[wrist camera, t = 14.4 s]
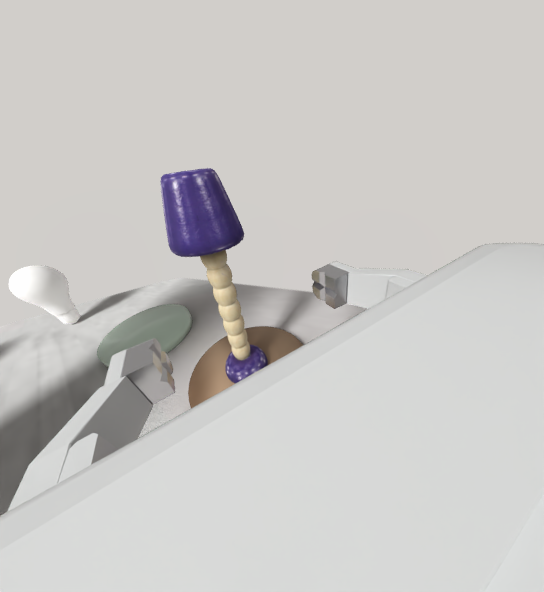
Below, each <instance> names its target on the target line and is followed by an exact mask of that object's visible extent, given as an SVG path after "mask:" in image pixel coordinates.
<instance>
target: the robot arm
mask: <svg viewBox="0 0 544 592" xmlns="http://www.w3.org/2000/svg"><path fill="white" fill-rule="evenodd" d="M312 279H313V280H314V284H313V292H314V294H315V296H316V297H317V298H318V299H320V300H324V301H326V304H327V305H329V306H331V307H332V308H334V309H336V308H338V307H340V306H342V305H344V304H346V303H347V304H350V305H354V306H358V307H363V308H367V310H365V311H364V312H362V313H360V314H358V315H356V316H355V317H353V318H351V319H349V320H348V321H346V322H344V323H342V324H340V325H339V326H337V327H335V328H333V329H332V330H330V331H328V332H326V333H324V334H323V335H321V336H319V337H317V338H316V339H314V340H312V341H310V342H308V343H307V344H305V345H303V346H301V347H300V348H298V349H296V350H294V351H293V352H291V353H289V354H287V355H285V356H284V357H282V358H280V359H278V360H277V361H275V362H273V363H271V364H269V365H268V366H266V367H264V368H262V369H261V370H259V371H257V372H255V373H253V374H252V375H250V376H248V377H246V378H245V379H243V380H241V381H239V382H237V383H236V384H234V385H232V386H230V387H229V388H227V389H225V390H223V391H221V392H220V393H218V394H216V395H214V396H213V397H211V398H209V399H207V400H205V401H204V402H202V403H200V404H198V405H197V406H195V407H193V408H191V409H189V410H188V411H186V412H184V413H182V414H181V415H179V416H177V417H175V418H173V419H172V420H170V421H168V422H166V423H165V424H163V425H161V426H159V427H157V428H156V429H154V430H152V431H150V432H149V433H147V434H145V435H143V436H141V437H140V438H138V437H139V435H140V432H141V430H142V428H143V426H144V424H145V422H146V420H147V418H148V416H149V414H150V412H151V409H152V407H153V404H155V403H157V402H159V401H161V400H162V399H164V398H166V397H168V396H170V395H171V394H173V393H175V386H174V379H173V378H172V376H171V375H172V373H173V368H172V364H171V361H170V359H169V357H168V355H167V354H166V352H163V351H161V345H160V343H159V342H158V341H157V339H155V338H153V339H151V340H148V341H146V342H143V343H141V344H138V345H136V346H133V347H131V348H128V349H126V350H123V351H121V352H119V353H116V354H114V355H113V356H112V357H111V361H110V365H109V369H108V372H107V376H106V380H105V384H104V386H102V387H100V388H99V389H98V390H97V391H96V392H95V393H94V394H93V395H92V396H91V397H90V398H89V400H88V401H87V402H86V403H85V404H84V405H83V406H82V407H81V408H80V409H79V411H78V412H77V413H76V414H75V415H74V416H73V417H72V418H71V419H70V420H69V421H68V423H67V424H66V425H65V426H64V427H63V428H62V429H61V430H60V431H59V432H58V434H57V435H56V436H55V437H54V438H53V439H52V440H51V441H50V442H49V443H48V444H47V446H46V447H45V448H44V449H43V450H42V451H41V452H40V453H39V454H38V455H37V457H36V458H35V459H34V460H33V461H32V462H31V463H30V464H29V466H28V468H27V470H26V472H25V474H24V476H23V479H22V481H21V483H20V485H19V487H18V489H17V491H16V494H15V496H14V498H13V500H12V502H11V504H10V507H9V509H8V511H7V512H6V513H5V514H3V515H1V516H0V592H544V244H536V243H495V244H485V245H482V246H479V247H477V248H475V249H474V250H472V251H470V252H468V253H466V254H465V255H463V256H461V257H459V258H458V259H456V260H454V261H452V262H451V263H449V264H447V265H445V266H443V267H442V268H440V269H438V270H436V271H435V272H433V273H431V274H429V275H425V274H422V273H418V272H415V271H412V270H409V269H378V268H377V269H376V268H359V269H356V268H354V267H351V266H348V265H345V264H343V263H340V262H332V263H330V264H328V265H326V266H324V267H322V268H319V269H317V270H315V271H313V272H312Z"/></svg>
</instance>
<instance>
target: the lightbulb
mask: <svg viewBox="0 0 544 592" xmlns="http://www.w3.org/2000/svg"><path fill="white" fill-rule="evenodd" d="M9 288H10V290H11V292H12V293H13V294H14V295H15V296H16V297H18V298H19V299H21V300H23V301H26V302H28V303H31V304H34V305H37V306H39V307H41V308H43V309H45V310H46V311H48V312H49V313H50V314H51V315H53V316H56V317H57V318H58V319H59V320H60V321H61V322H62V323H64V324H74V323H76V322H77V321H78V319H79V318H80V316H81V315H80V314H79V312H78V311H77V310H76V308H75V305H74V303H73V302H72V301H71V299H70V296H69V288H68V281H67V279H66V277H65V276H64V275H63V274H62V273H61V272H59V271H58V270H56V269H54V268H51V267H47V266H42V265H34V266H27V267H23V268H21V269H19V270H17V271H16V272H14V274H12V276H11V277H10V280H9Z"/></svg>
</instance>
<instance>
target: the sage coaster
mask: <svg viewBox="0 0 544 592" xmlns="http://www.w3.org/2000/svg"><path fill="white" fill-rule="evenodd" d="M191 325H192V317H191V315H190V313H189V311H188V309H187V308H186V307H184V306H182V305H178V304H166V305H161V306H157V307H153V308H150V309H147V310H145V311H142V312H140V313H138V314H136V315H134V316H132V317H130V318H128V319H127V320H125V321H124V322H122V323H121V324H119V325H118V326H117V327H115V328H114V329H113V330H112V331H111V332H110V333H108V335H107V336H106V337H105V338H104V339H103V340H102V342H101V343H100V345H99V347H98V351H97V356H98V358H99V359H100V360H101V362H102V363H103V364H104V365H105V366H106V367H108V368H109V365H110V361H111V357H112V356H113V355H114V354H116V353H119V352H121V351H123V350H126V349H128V348H131V347H133V346H136V345H138V344H141V343H143V342H146V341H148V340H151V339H153V338H155V339H157V341H158V342H159V343H160V345H161V351H163V352H166V353H168V352H169V351H171V350H172V349H173V348H174V347H176V346H177V345H178V344H179V343H180V342H181V341H182V340H183V339H184V338H185V336H186V335H187V334H188V332H189V330H190V328H191Z"/></svg>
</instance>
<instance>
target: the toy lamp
mask: <svg viewBox="0 0 544 592" xmlns="http://www.w3.org/2000/svg"><path fill="white" fill-rule="evenodd" d="M161 193H162V201H163V208H164V216H165V223H166V229H167V236H168V242H169V247H170V249H171V251H172V252H173V253H175V254H176V255H178V256H181V257H193V256H200V257H201V260H202V262H203V264H204V265H205V267H206V268H207V277H208V280H209V282H210V284H211V285H212V286H213V294H214V297H215V299H216V301H217V302H218V303H219V305H218V308H219V313H220V315H221V317H222V318H223V325H224V328H225V330H226V332H227V333H228V340H229V343H230V344H231V345H232V352H231V353H230V354H229V356H228V358H227V360H226V365H225V370H226V374H227V377H228V378H229V379H230V380H231V381H232V382H233V383H235V384H236V383H237V382H239V381H241V380H243V379H245V378H246V377H248V376H250V375H252V374H253V373H255V372H257V371H259V370H261V369H262V368H264V367H266V366H268V360H267V357H266V355H265V353H264V352H263V351H262V350H261V349H260V348H259V347H257V346H255V345H250V344H249V342H248V341H247V332H246V330H245V329H244V319H243V317H242V315H241V307H240V304H239V302H238V300H237V299H236V297H237V293H236V289H235V286H234V284H233V283H232V273H231V270H230V268H229V266H228V265H227V264H226V261H227V254H226V249H229V248H231V247H233V246H235V245H237V244H238V243H240V241H241V240H243V237H244V232H243V229H242V226H241V224H240V222H239V220H238V217H237V215H236V213H235V211H234V208H233V206H232V204H231V202H230V200H229V198H228V195H227V194H226V191H225V190H224V187H223V185H222V183H221V181H220V179H219V177H218V175H217V173H216V172H215V171H214V170H213V169H211V168H209V169H208V168H207V169H198V170H190V171H182V172H176V173H170V174H165V175H163V176H162V177H161Z"/></svg>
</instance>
